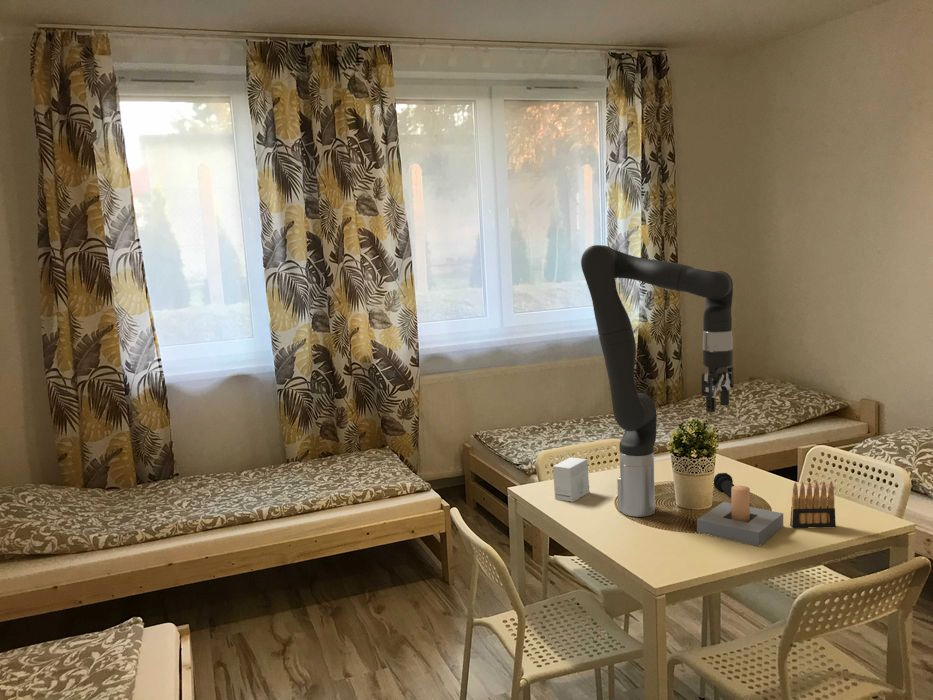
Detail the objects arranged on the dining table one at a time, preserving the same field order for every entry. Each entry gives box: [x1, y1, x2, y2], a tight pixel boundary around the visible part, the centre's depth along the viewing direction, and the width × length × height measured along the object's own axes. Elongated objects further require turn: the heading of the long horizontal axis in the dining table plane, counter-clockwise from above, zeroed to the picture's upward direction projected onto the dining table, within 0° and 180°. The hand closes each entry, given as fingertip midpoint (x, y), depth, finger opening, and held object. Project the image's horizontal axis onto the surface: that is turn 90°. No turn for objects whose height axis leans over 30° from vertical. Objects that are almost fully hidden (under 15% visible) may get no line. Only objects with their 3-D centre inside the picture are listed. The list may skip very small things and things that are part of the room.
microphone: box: [713, 472, 735, 498], centre depth 221 cm, size 6×6×20 cm
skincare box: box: [552, 456, 590, 503], centre depth 230 cm, size 10×6×10 cm, turn 142°
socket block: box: [696, 501, 784, 547], centre depth 197 cm, size 16×16×4 cm
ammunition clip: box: [789, 480, 837, 529], centre depth 196 cm, size 11×2×12 cm, turn 85°
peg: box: [730, 485, 751, 523], centre depth 197 cm, size 4×4×11 cm
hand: (718, 408), depth 203 cm, fingers open, 8 cm apart
